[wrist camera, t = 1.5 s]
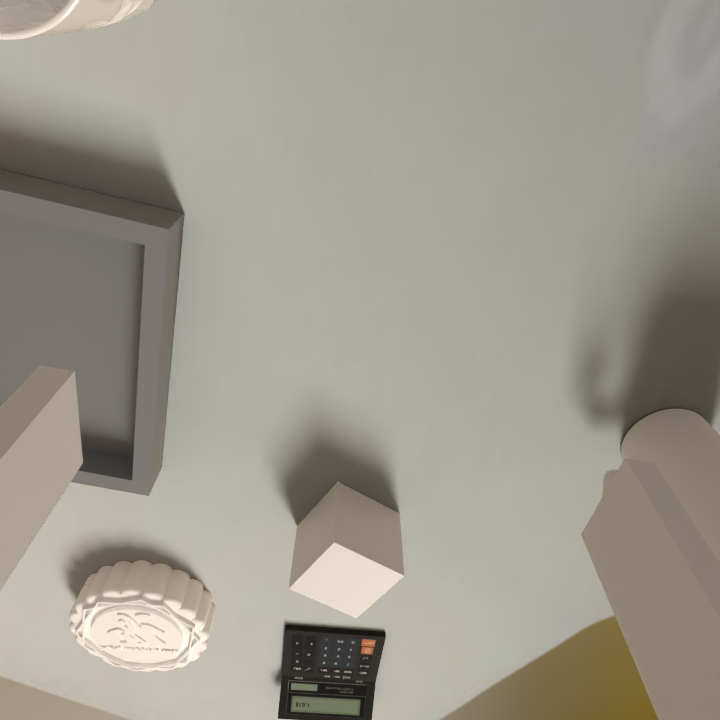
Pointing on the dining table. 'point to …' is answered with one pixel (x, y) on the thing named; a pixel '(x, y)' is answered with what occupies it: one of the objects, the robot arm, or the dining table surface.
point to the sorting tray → (93, 316)
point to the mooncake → (143, 616)
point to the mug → (681, 464)
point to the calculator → (329, 673)
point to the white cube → (347, 551)
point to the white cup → (63, 15)
